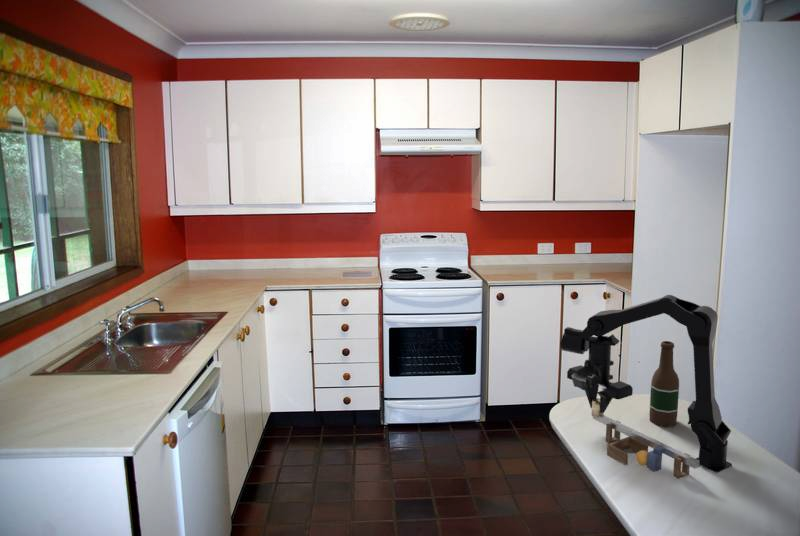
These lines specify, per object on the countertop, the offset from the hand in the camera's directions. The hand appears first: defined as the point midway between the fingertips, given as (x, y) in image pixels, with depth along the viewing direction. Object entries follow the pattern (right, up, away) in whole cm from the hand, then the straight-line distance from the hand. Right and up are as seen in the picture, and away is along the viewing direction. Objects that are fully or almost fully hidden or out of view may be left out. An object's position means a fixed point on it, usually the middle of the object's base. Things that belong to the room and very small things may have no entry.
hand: (597, 410), depth 165 cm
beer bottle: (+21, -5, +7) cm, 23 cm away
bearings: (+8, -9, -13) cm, 18 cm away
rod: (+6, -9, -12) cm, 16 cm away
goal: (+4, -9, -12) cm, 15 cm away
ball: (+6, -8, -17) cm, 19 cm away
